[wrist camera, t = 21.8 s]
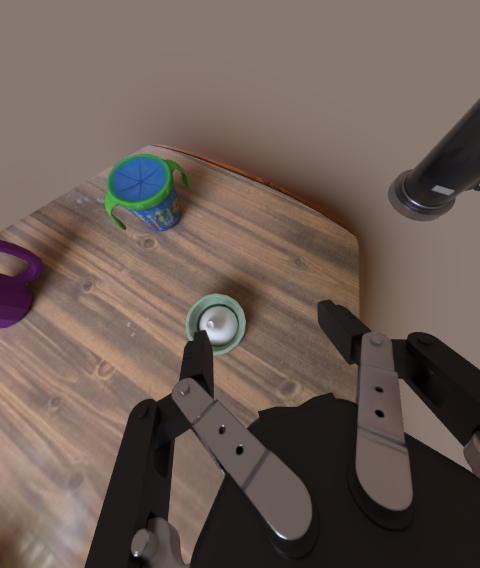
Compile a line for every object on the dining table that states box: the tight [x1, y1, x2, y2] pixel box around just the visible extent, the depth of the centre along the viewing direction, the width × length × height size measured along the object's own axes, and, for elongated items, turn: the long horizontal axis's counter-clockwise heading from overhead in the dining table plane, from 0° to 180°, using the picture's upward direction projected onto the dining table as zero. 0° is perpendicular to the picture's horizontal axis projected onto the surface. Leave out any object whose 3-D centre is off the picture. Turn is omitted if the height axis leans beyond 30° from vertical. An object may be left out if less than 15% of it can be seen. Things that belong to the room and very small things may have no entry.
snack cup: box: [105, 154, 191, 231], centre depth 37 cm, size 16×10×10 cm
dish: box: [185, 294, 246, 355], centre depth 32 cm, size 9×9×5 cm
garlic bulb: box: [199, 306, 238, 346], centre depth 30 cm, size 6×6×8 cm
